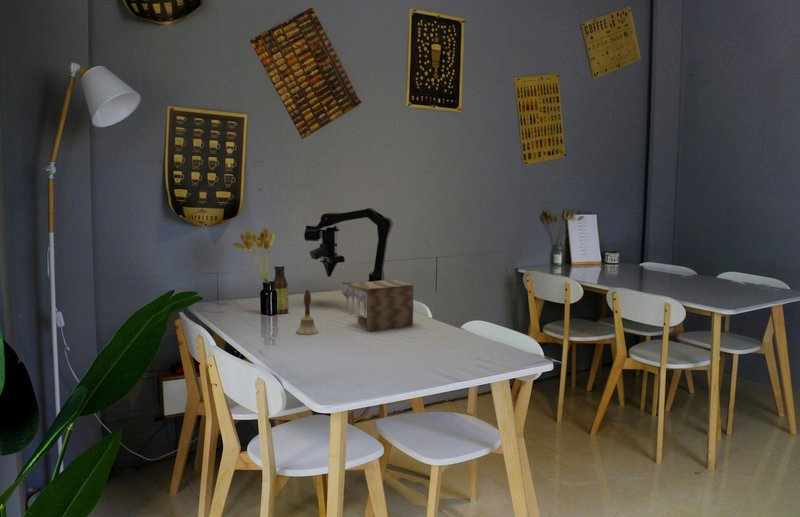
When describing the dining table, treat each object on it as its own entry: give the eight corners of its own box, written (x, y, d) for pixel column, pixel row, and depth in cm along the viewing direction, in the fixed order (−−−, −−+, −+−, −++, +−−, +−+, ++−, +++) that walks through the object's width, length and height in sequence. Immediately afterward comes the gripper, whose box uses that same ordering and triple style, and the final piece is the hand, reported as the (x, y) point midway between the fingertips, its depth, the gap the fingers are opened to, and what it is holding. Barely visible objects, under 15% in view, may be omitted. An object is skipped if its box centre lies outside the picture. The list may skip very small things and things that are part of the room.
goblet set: (380, 322, 266) (380, 289, 264) (367, 324, 263) (367, 290, 261) (350, 309, 290) (351, 278, 288) (338, 310, 287) (338, 279, 286)
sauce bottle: (291, 312, 281) (291, 265, 279) (279, 314, 277) (278, 267, 274) (282, 310, 286) (281, 264, 283) (269, 312, 281) (269, 265, 278)
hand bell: (322, 331, 251) (322, 289, 249) (310, 336, 243) (310, 292, 241) (303, 328, 254) (303, 287, 252) (291, 333, 247) (291, 290, 244)
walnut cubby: (392, 318, 274) (392, 279, 272) (412, 325, 261) (413, 285, 259) (349, 323, 263) (349, 283, 261) (368, 331, 250) (369, 289, 248)
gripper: (302, 240, 297) (303, 275, 299) (321, 244, 282) (322, 281, 284) (325, 239, 303) (325, 273, 305) (345, 243, 288) (345, 278, 290)
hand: (328, 276), depth 296 cm, fingers closed
